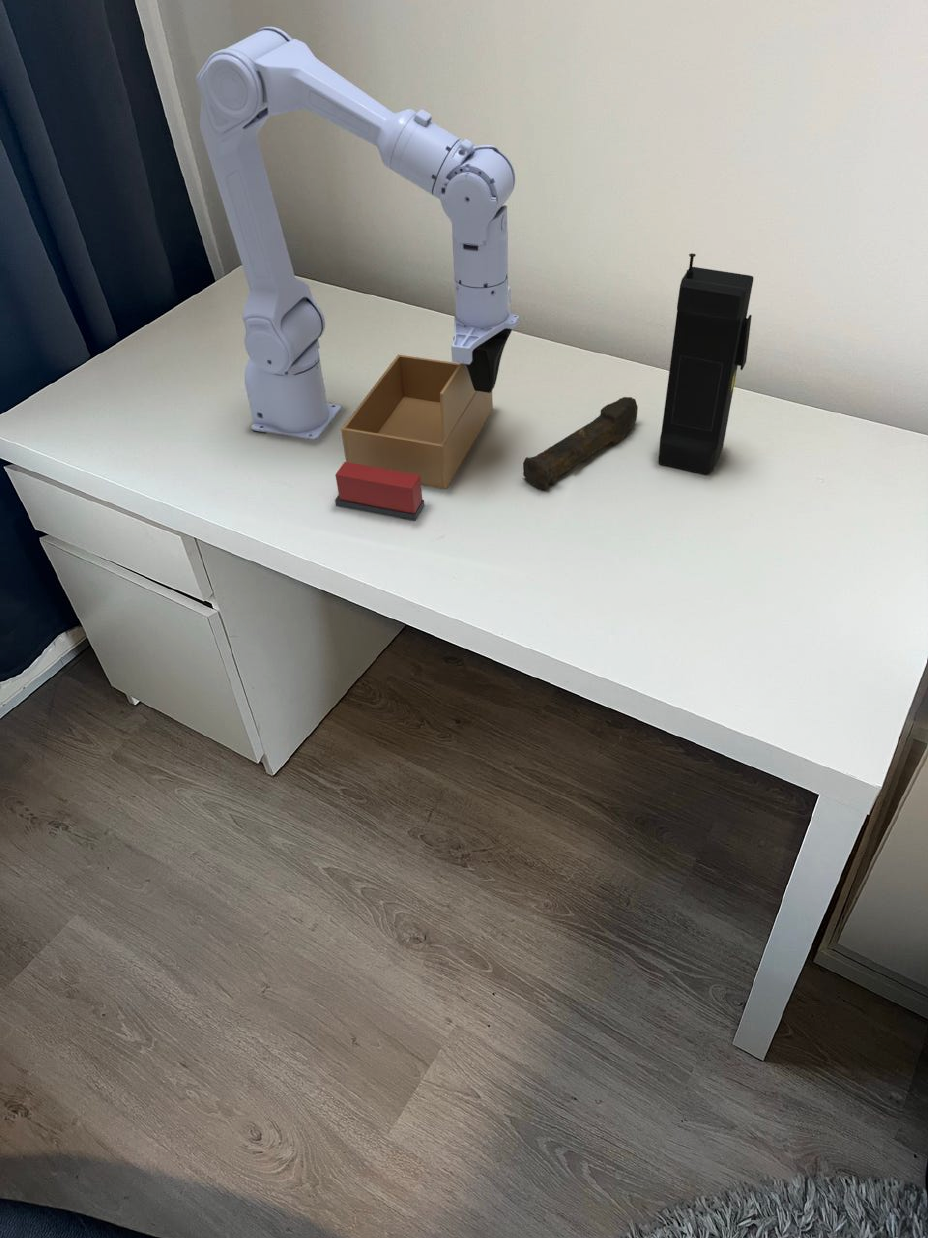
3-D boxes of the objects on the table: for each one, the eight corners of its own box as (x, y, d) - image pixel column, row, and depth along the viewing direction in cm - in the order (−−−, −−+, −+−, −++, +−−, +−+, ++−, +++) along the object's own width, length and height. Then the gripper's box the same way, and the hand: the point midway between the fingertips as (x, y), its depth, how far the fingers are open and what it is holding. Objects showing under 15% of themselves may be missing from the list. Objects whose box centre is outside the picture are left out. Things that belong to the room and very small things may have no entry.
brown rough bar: (544, 496, 110) (545, 464, 107) (520, 481, 112) (521, 449, 109) (651, 432, 118) (656, 400, 115) (627, 419, 120) (631, 388, 117)
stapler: (336, 508, 110) (330, 474, 107) (346, 492, 112) (341, 459, 109) (415, 523, 107) (412, 489, 104) (424, 507, 109) (421, 474, 106)
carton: (402, 397, 126) (398, 354, 122) (492, 411, 123) (491, 367, 118) (347, 473, 115) (340, 429, 110) (446, 491, 111) (443, 446, 107)
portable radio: (731, 450, 115) (770, 249, 97) (719, 478, 111) (757, 273, 93) (668, 437, 117) (695, 238, 100) (654, 463, 114) (680, 261, 96)
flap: (490, 316, 114) (493, 317, 113) (490, 363, 118) (492, 363, 118) (439, 393, 102) (442, 393, 102) (441, 441, 106) (444, 441, 106)
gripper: (495, 312, 94) (497, 427, 103) (536, 251, 103) (535, 362, 113) (429, 303, 96) (437, 418, 105) (476, 244, 105) (479, 354, 115)
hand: (484, 388), depth 109 cm, fingers closed, pressing on flap
